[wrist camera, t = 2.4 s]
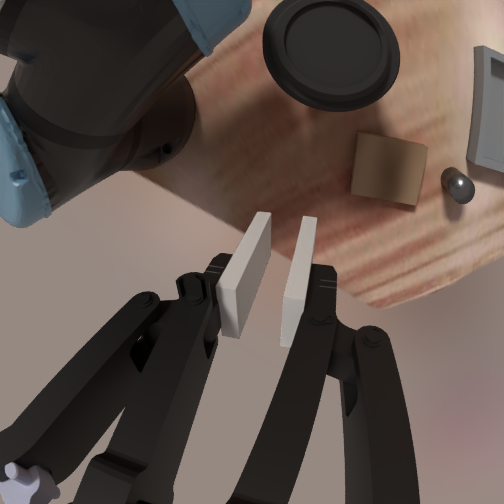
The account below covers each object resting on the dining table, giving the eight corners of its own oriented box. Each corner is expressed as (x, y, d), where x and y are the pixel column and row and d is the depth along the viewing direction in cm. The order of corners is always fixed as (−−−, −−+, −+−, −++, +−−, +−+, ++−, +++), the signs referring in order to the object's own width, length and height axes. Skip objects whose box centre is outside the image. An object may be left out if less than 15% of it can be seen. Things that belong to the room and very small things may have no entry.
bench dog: (438, 188, 28) (449, 201, 25) (443, 165, 27) (455, 175, 23) (458, 192, 28) (471, 206, 24) (463, 169, 26) (477, 180, 23)
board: (349, 188, 32) (350, 194, 31) (356, 130, 28) (358, 133, 27) (411, 199, 31) (416, 205, 29) (422, 143, 27) (427, 147, 25)
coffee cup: (336, 119, 28) (341, 145, 16) (271, 67, 26) (223, 54, 14) (389, 65, 23) (436, 50, 11) (322, 11, 21) (314, -44, 9)
